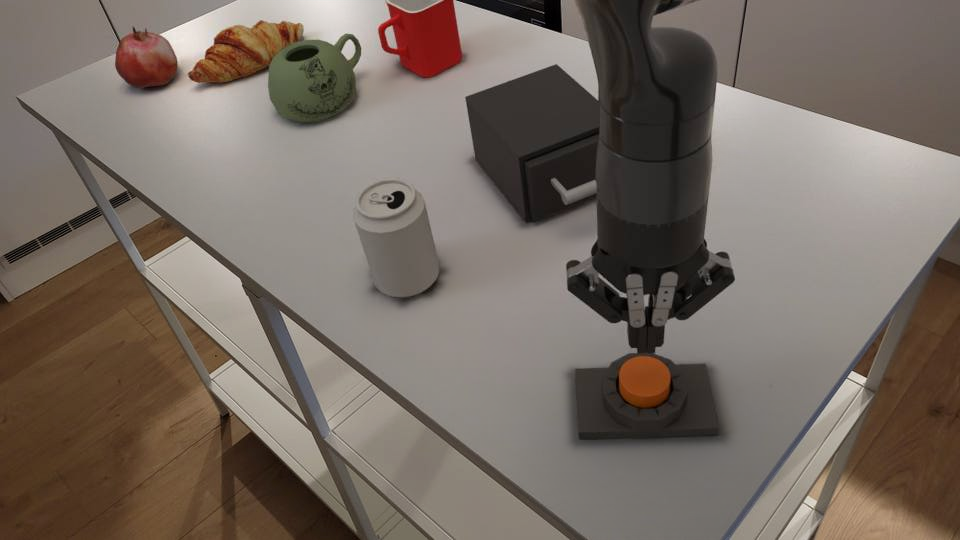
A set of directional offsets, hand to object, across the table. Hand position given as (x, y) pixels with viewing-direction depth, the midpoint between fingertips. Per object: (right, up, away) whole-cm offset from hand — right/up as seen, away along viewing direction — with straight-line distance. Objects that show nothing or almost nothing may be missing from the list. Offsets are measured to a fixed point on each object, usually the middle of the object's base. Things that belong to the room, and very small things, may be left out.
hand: (645, 345), depth 64 cm
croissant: (-51, +40, +62) cm, 90 cm away
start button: (+1, -4, +4) cm, 6 cm away
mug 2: (-23, +38, +54) cm, 70 cm away
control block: (+1, -6, +5) cm, 8 cm away
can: (-22, +5, +21) cm, 31 cm away
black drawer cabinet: (-6, +19, +31) cm, 37 cm away
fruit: (-67, +37, +61) cm, 98 cm away
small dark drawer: (-4, +17, +28) cm, 33 cm away
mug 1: (-37, +32, +51) cm, 70 cm away
